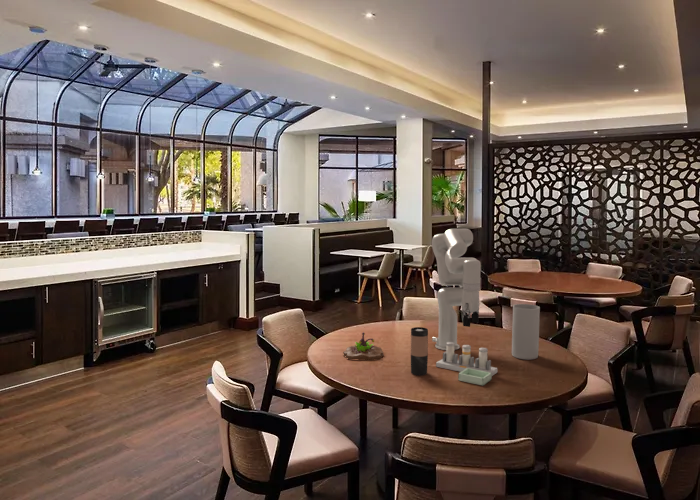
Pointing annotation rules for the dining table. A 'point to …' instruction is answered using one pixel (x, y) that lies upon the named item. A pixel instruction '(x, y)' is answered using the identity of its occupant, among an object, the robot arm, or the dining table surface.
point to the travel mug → (419, 350)
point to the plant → (363, 350)
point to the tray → (475, 376)
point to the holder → (459, 367)
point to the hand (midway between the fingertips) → (470, 324)
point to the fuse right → (483, 358)
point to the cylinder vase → (525, 331)
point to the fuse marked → (466, 355)
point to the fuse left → (449, 352)
